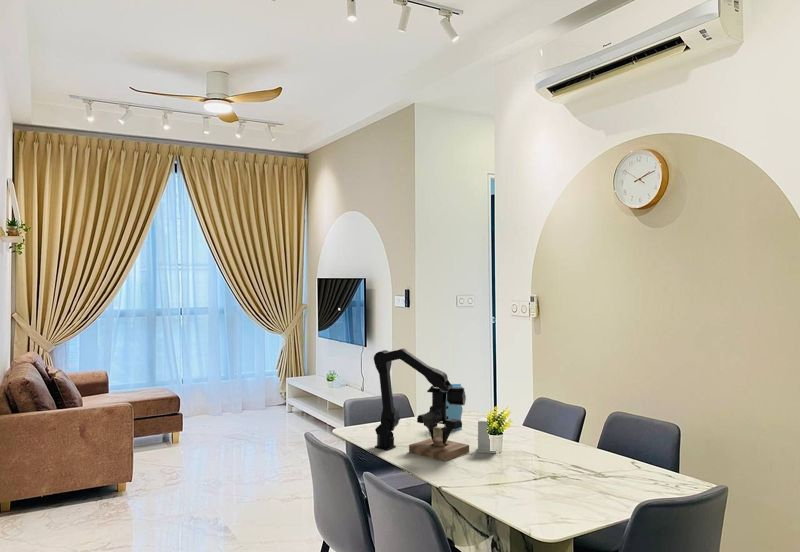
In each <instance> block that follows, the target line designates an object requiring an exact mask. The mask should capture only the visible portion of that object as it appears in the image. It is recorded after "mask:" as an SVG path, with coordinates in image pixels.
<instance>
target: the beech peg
mask: <svg viewBox="0 0 800 552" xmlns="http://www.w3.org/2000/svg"><path fill="white" fill-rule="evenodd" d="M443 427H444V426H437V427H434V428H433V446H435V447H439V448H441V447H444V446H445V444H443V431H442V429H441V428H443Z"/></svg>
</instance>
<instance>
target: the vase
mask: <svg viewBox="0 0 800 552" xmlns="http://www.w3.org/2000/svg"><path fill="white" fill-rule="evenodd" d="M450 384H451V385H452V386H453V388H463V386H462V384H461V383H450ZM446 406H448V409H446V416H448V419H446V420H451V419H458V420H461V421H462V414H463V405H450V403H448V402H447V393H446ZM452 431H463V426H462V427H461V428H457V429H452Z"/></svg>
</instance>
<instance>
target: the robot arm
mask: <svg viewBox="0 0 800 552" xmlns="http://www.w3.org/2000/svg"><path fill="white" fill-rule="evenodd" d="M396 360H401V361H402V362H404V363H405V364H406V365H408V366H410V367H411V368H412V369H414V370H416V371H417V372H418V373H419V374H421V375H422V376H424V378H425V379H426V381H428V382H429V384H431V386H430V387H429V388H428V389H427V390H426V392H427V393H431V396H432V397H431V406H429V411H427V412H426V413H422V414H419V415H418V416H417V418H416V423H417V424H418V423H419V424H423V426H425V427H426V428H427V429H428V431H429V434H430V437H431V438H432V440H433V428H434V427H438V424H439V425H443V426H442V427H443V428H441V429H442V431H443V444H446V441H447V440H448V439H449V437H450V434H451V433H452V432H453V430H452V429H457V428H461V427H462V428H463V422H462V419H461V420H458V419H451V420H446V419H448V416H446V409H448V406H446V393H447V402H448V403H450V405H462V406H465V405H466V397H467V396H466V392H465V388H464V387H462V388H453V386H452V385H451V384H452V383H451V382H450V381H449V378H448V374H447V373H446V372H444V371H443V370H440V369H438V368H434V367H432V366H430V365H428V364H427V363H426V362H424V361H422V360H421V359H419V358H418V357H417V356H415V355H414V354H413V353H410V352H409V351H408V350H407V349H406V348H400V349H396V350H391V351H389V350H386V349H384V350H380V351H378V352H376V353H375V354H374V356H373V362H374V366H375V368H376V370H377V373H378V375H379V385H380V393H381V394H380V395H381V404H382V410H381V415H380V424H379V425H378V426H377V427H376V428H375V430H374V431H375V433H376V436H377V437H376V445H374V448H376V449H380V450H384V451H387V450H390V449H391V450H392V449H394V448H396V447H397V446H396V444H395V436H394V432H393V431H394V430H395V428H396V427H397V426H398V425H399V424H400V423H399V422H400V420H401V417H400V410H399V409H396V408H395V405H394V398H393V390H392V389H393V388H392V379H391V369H392V363H393V362H392V361H396Z"/></svg>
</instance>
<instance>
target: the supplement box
mask: <svg viewBox="0 0 800 552" xmlns="http://www.w3.org/2000/svg"><path fill="white" fill-rule="evenodd" d="M487 418H488V417H478V421H477V422H478V423H477V453H481V454H496V453H497V450H496V451H490V439H489V435H488V432H487Z"/></svg>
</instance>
